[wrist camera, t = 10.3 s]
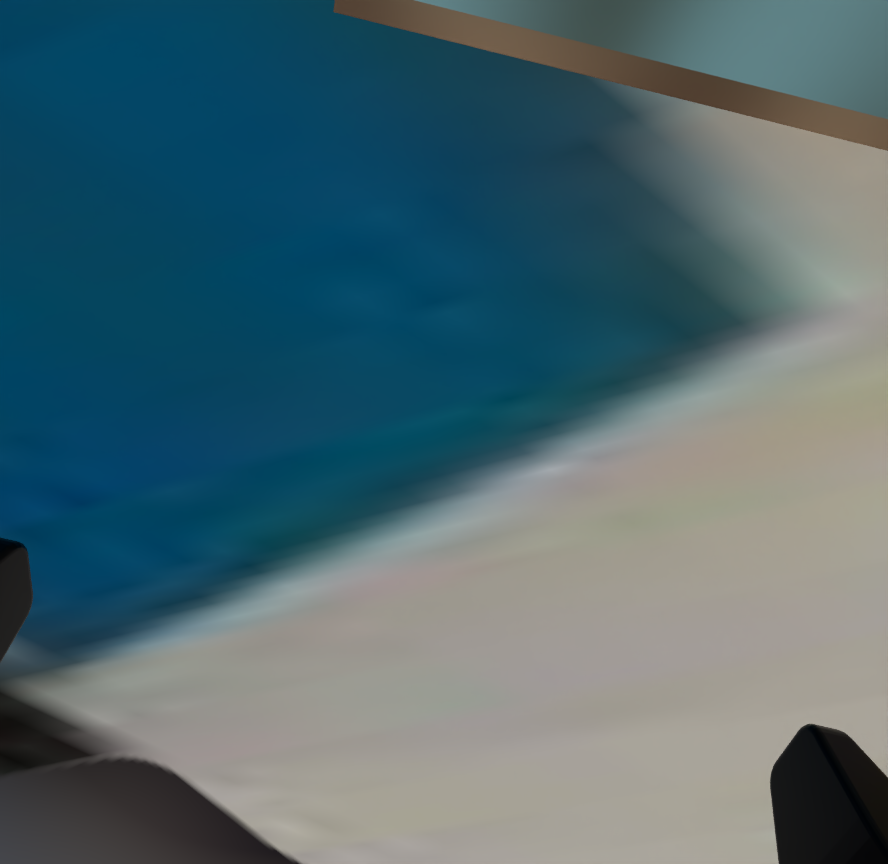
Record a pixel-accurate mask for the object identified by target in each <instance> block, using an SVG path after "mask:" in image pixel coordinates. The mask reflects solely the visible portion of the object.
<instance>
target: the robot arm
mask: <svg viewBox="0 0 888 864" xmlns="http://www.w3.org/2000/svg"><path fill="white" fill-rule="evenodd" d="M32 599H33V591H32V582H31V574H30V566H29V558H28V552H27V549H26V547H25V546H24V545H23V544H22V543H20V542H17V541H13V540H8V539H4V538H0V663H1V661H2V659H3V657H4V656H5V654H6V652H7V650H8V649H9V647H10V645H11V644H12V642H13V640H14V638H15V637H16V635H17V633H18V631H19V630H20V628H21V626H22V625H23V623H24V621H25V619H26V617H27V616H28V613H29V611H30V608H31V605H32ZM770 789H771V798H772V807H773V816H774V825H775V834H776V843H777V852H778V861H779V864H888V777H887V776H886V775H885V774H884V773H883V772H882V771H881V770H880V769H879V768H878V767H877V766H876V764H875V763H874V762H873V761H872V760H871V759H870V758H869V757H868V756H867V755H866V754H865V753H864V751H863V750H862V749H861V748H860V747H859V746H858V745H857V744H856V743H855V742H854V741H853V740H852V739H851V738H850V737H849V736H848V735H847V734H846V733H844V732H842V731H840V730H836V729H832V728H828V727H823V726H819V725H815V724H807V725H805V726H803V727H802V728H801V729H800V730H799V731H798V732H797V734H796V735H795V736H794V738H793V739H792V740H791V742H790V743H789V745H788V746H787V747H786V749H785V750H784V751H783V753H782V754H781V756H780V757H779V758H778V760H777V761H776V763H775V764H774V766H773V769H772V772H771V779H770Z"/></svg>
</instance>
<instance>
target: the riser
mask: <svg viewBox="0 0 888 864" xmlns="http://www.w3.org/2000/svg"><path fill="white" fill-rule="evenodd" d="M334 12H336V13H340V14H344V15H348V16H352V17H356V18H360V19H364V20H368V21H372V22H376V23H380V24H384V25H388V26H392V27H396V28H400V29H404V30H408V31H412V32H416V33H420V34H424V35H428V36H432V37H436V38H440V39H444V40H448V41H452V42H456V43H460V44H464V45H468V46H472V47H476V48H480V49H484V50H488V51H492V52H496V53H500V54H504V55H508V56H512V57H516V58H520V59H524V60H528V61H532V62H536V63H540V64H544V65H548V66H552V67H556V68H560V69H564V70H568V71H572V72H576V73H580V74H584V75H588V76H592V77H596V78H600V79H604V80H608V81H612V82H616V83H620V84H624V85H628V86H632V87H636V88H640V89H644V90H648V91H652V92H656V93H660V94H664V95H668V96H672V97H676V98H680V99H684V100H688V101H692V102H696V103H700V104H704V105H708V106H712V107H716V108H720V109H724V110H728V111H732V112H736V113H740V114H744V115H748V116H752V117H756V118H760V119H764V120H767V121H771V122H775V123H779V124H783V125H787V126H791V127H795V128H799V129H803V130H807V131H811V132H815V133H819V134H823V135H827V136H831V137H835V138H839V139H843V140H847V141H851V142H855V143H859V144H863V145H867V146H871V147H875V148H879V149H883V150H887V151H888V0H335V4H334Z"/></svg>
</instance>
